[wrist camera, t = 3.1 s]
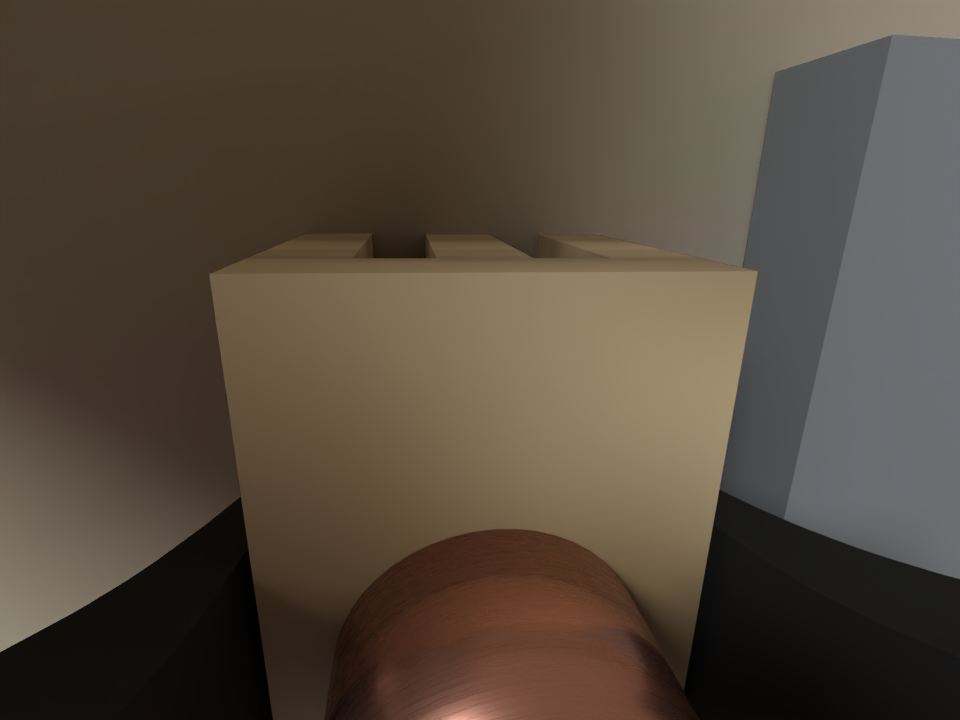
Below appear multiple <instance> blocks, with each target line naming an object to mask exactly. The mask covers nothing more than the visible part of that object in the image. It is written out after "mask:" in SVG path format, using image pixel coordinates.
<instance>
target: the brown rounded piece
mask: <svg viewBox="0 0 960 720" xmlns="http://www.w3.org/2000/svg"><path fill="white" fill-rule="evenodd" d="M324 720H700V719H699V717H698V715H697V714H696V712H695V710H694V708H693V706H692V705H691V703H690V701H689V699H688V698H687V696H686V694H685V692H684V690H683V689H682V687H681V685H680V683H679V681H678V680H677V678H676V676H675V674H674V672H673V671H672V669H671V667H670V665H669V664H668V662H667V660H666V658H665V656H664V655H663V653H662V651H661V649H660V647H659V646H658V644H657V642H656V640H655V638H654V637H653V635H652V633H651V631H650V630H649V628H648V626H647V624H646V622H645V621H644V619H643V617H642V615H641V613H640V612H639V610H638V608H637V606H636V604H635V603H634V601H633V599H632V597H631V595H630V594H629V592H628V590H627V588H626V587H625V585H624V584H623V582H622V581H621V579H620V578H619V576H618V575H617V574H616V573H615V571H614V570H613V569H612V568H611V567H610V566H609V565H608V564H607V563H606V562H605V561H603V560H602V559H601V558H599V557H598V556H597V555H595V554H594V553H593V552H591V551H590V550H588V549H586V548H584V547H582V546H581V545H579V544H577V543H575V542H572V541H570V540H567V539H564V538H562V537H559V536H556V535H552V534H548V533H543V532H539V531H532V530H522V529H492V530H484V531H476V532H470V533H466V534H462V535H458V536H453V537H450V538H447V539H444V540H442V541H439V542H436V543H433V544H430V545H428V546H426V547H424V548H422V549H420V550H418V551H416V552H414V553H412V554H410V555H408V556H407V557H405V558H404V559H402V560H401V561H399V562H397V563H396V564H394V565H393V566H391V567H390V568H389V569H388V570H387V571H385V572H384V573H383V574H382V575H380V576H379V577H378V578H377V579H376V580H375V581H374V582H373V583H372V584H371V585H370V586H369V587H368V588H367V589H366V590H365V591H364V592H363V593H362V595H361V596H360V597H359V599H358V600H357V601H356V603H355V604H354V606H353V607H352V608H351V610H350V612H349V613H348V615H347V617H346V619H345V621H344V623H343V625H342V627H341V630H340V633H339V636H338V639H337V642H336V646H335V652H334V658H333V664H332V670H331V677H330V683H329V690H328V696H327V703H326V709H325V715H324Z"/></svg>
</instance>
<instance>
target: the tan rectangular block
mask: <svg viewBox="0 0 960 720" xmlns="http://www.w3.org/2000/svg"><path fill="white" fill-rule="evenodd" d="M757 273H758V271H754V270H750V269H746V268H741V267H737V266H732V265H728V264H724V263H719V262H715V261H710V260H706V259H702V258H697V257H693V256H688V255H684V254H680V253H675V252H671V251H666V250H662V249H658V248H653V247H649V246H644V245H640V244H636V243H631V242H627V241H622V240H618V239H614V238H609V237H605V236H601V235H539V240H538V258H532V257H530V256H528V255H526V254H525V253H523V252H521V251H519V250H517V249H515V248H513V247H511V246H509V245H507V244H506V243H504V242H502V241H500V240H498V239H496V238H494V237H492V236H490V235H488V234H426V258H373V245H372V234H313V233H306V234H303V235H301V236H298V237H296V238H294V239H291V240H289V241H287V242H284V243H282V244H279V245H277V246H275V247H272V248H270V249H267V250H265V251H263V252H260V253H258V254H256V255H253V256H251V257H248V258H246V259H244V260H241V261H239V262H236V263H234V264H232V265H229V266H227V267H225V268H222V269H220V270H217V271H215V272H213V273H210V274H209V277H210V284H211V291H212V298H213V305H214V312H215V319H216V326H217V332H218V339H219V346H220V353H221V360H222V367H223V374H224V381H225V388H226V395H227V402H228V409H229V416H230V423H231V430H232V437H233V444H234V451H235V458H236V465H237V472H238V479H239V486H240V493H241V500H242V507H243V514H244V521H245V528H246V535H247V542H248V549H249V556H250V563H251V570H252V577H253V584H254V591H255V598H256V605H257V612H258V619H259V626H260V633H261V640H262V647H263V654H264V660H265V667H266V674H267V681H268V688H269V695H270V702H271V709H272V716H273V720H324V715H325V709H326V703H327V696H328V690H329V683H330V677H331V670H332V664H333V658H334V652H335V646H336V642H337V639H338V636H339V633H340V630H341V627H342V625H343V623H344V621H345V619H346V617H347V615H348V613H349V612H350V610H351V608H352V607H353V606H354V604H355V603H356V601H357V600H358V599H359V597H360V596H361V595H362V593H363V592H364V591H365V590H366V589H367V588H368V587H369V586H370V585H371V584H372V583H373V582H374V581H375V580H376V579H377V578H378V577H379V576H380V575H382V574H383V573H384V572H385V571H387V570H388V569H389V568H390V567H391V566H393V565H394V564H396V563H397V562H399V561H401V560H402V559H404V558H405V557H407V556H408V555H410V554H412V553H414V552H416V551H418V550H420V549H422V548H424V547H426V546H428V545H430V544H433V543H436V542H439V541H442V540H444V539H447V538H450V537H453V536H458V535H462V534H466V533H470V532H476V531H484V530H492V529H522V530H532V531H539V532H543V533H548V534H552V535H556V536H559V537H562V538H564V539H567V540H570V541H572V542H575V543H577V544H579V545H581V546H582V547H584V548H586V549H588V550H590V551H591V552H593V553H594V554H595V555H597V556H598V557H599V558H601V559H602V560H603V561H605V562H606V563H607V564H608V565H609V566H610V567H611V568H612V569H613V570H614V571H615V573H616V574H617V575H618V576H619V578H620V579H621V581H622V582H623V584H624V585H625V587H626V588H627V590H628V592H629V594H630V595H631V597H632V599H633V601H634V603H635V604H636V606H637V608H638V610H639V612H640V613H641V615H642V617H643V619H644V621H645V622H646V624H647V626H648V628H649V630H650V631H651V633H652V635H653V637H654V638H655V640H656V642H657V644H658V646H659V647H660V649H661V651H662V653H663V655H664V656H665V658H666V660H667V662H668V664H669V665H670V667H671V669H672V671H673V672H674V674H675V676H676V678H677V680H678V681H679V683H680V685H681V687H682V689H683V690H684V687H685V681H686V676H687V670H688V664H689V659H690V653H691V647H692V642H693V636H694V630H695V625H696V619H697V613H698V608H699V602H700V596H701V591H702V585H703V579H704V574H705V568H706V562H707V557H708V551H709V545H710V540H711V534H712V528H713V523H714V517H715V511H716V506H717V500H718V494H719V489H720V483H721V477H722V472H723V466H724V460H725V455H726V449H727V443H728V438H729V432H730V426H731V421H732V415H733V409H734V404H735V398H736V392H737V387H738V381H739V375H740V370H741V364H742V358H743V353H744V347H745V341H746V336H747V330H748V324H749V319H750V313H751V307H752V302H753V296H754V290H755V285H756V279H757Z"/></svg>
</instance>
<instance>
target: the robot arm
mask: <svg viewBox="0 0 960 720" xmlns="http://www.w3.org/2000/svg"><path fill="white" fill-rule="evenodd" d="M684 692H685V694H686V696H687V698H688V699H689V701H690V703H691V705H692V706H693V708H694V710H695V712H696V714H697V715H698V717H699V719H700V720H960V579H957V578H954V577H950V576H946V575H943V574H939V573H936V572H932V571H929V570H926V569H922V568H919V567H916V566H913V565H909V564H906V563H903V562H900V561H896V560H893V559H890V558H887V557H883V556H880V555H877V554H874V553H871V552H868V551H865V550H862V549H859V548H856V547H854V546H851V545H848V544H846V543H843V542H840V541H838V540H835V539H832V538H830V537H827V536H824V535H822V534H819V533H816V532H813V531H811V530H808V529H806V528H803V527H801V526H798V525H796V524H793V523H791V522H789V521H786V520H784V519H782V518H780V517H777V516H775V515H773V514H771V513H768V512H766V511H764V510H762V509H759V508H757V507H755V506H753V505H750V504H748V503H746V502H744V501H742V500H740V499H738V498H736V497H734V496H732V495H729V494H727V493H725V492H723V491H721V490H719V494H718V500H717V506H716V511H715V517H714V523H713V528H712V534H711V540H710V545H709V551H708V557H707V562H706V568H705V574H704V579H703V585H702V591H701V596H700V602H699V608H698V613H697V619H696V625H695V630H694V636H693V642H692V647H691V653H690V659H689V664H688V670H687V676H686V681H685V687H684ZM0 720H273V716H272V709H271V702H270V695H269V688H268V681H267V674H266V667H265V660H264V654H263V647H262V640H261V633H260V626H259V619H258V612H257V605H256V598H255V591H254V584H253V577H252V570H251V563H250V556H249V549H248V542H247V535H246V528H245V521H244V514H243V507H242V500H241V497H240V498H239V499H237V500H236V501H235V502H234V503H232V504H231V505H230V506H229V507H227V508H226V509H225V510H224V511H222V512H221V513H220V514H219V515H217V516H216V517H215V518H214V519H212V520H211V521H210V522H209V523H207V524H206V525H205V526H204V527H202V528H201V529H199V530H198V531H197V532H195V533H194V534H193V535H191V536H190V537H189V538H187V539H186V540H184V541H183V542H182V543H180V544H179V545H178V546H176V547H175V548H173V549H172V550H171V551H169V552H168V553H167V554H165V555H164V556H163V557H161V558H160V559H158V560H157V561H156V562H154V563H153V564H151V565H150V566H148V567H147V568H145V569H144V570H142V571H141V572H139V573H138V574H136V575H135V576H133V577H132V578H130V579H129V580H127V581H125V582H124V583H122V584H121V585H119V586H117V587H116V588H114V589H113V590H111V591H109V592H108V593H106V594H104V595H103V596H101V597H99V598H98V599H96V600H95V601H93V602H91V603H90V604H88V605H86V606H85V607H83V608H81V609H79V610H78V611H76V612H74V613H72V614H71V615H69V616H67V617H65V618H63V619H61V620H59V621H58V622H56V623H54V624H52V625H50V626H48V627H46V628H45V629H43V630H41V631H39V632H37V633H35V634H33V635H32V636H30V637H28V638H26V639H24V640H22V641H20V642H19V643H17V644H15V645H13V646H11V647H9V648H7V649H5V650H4V651H2V652H0Z"/></svg>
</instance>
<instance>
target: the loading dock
mask: <svg viewBox="0 0 960 720" xmlns="http://www.w3.org/2000/svg"><path fill="white" fill-rule="evenodd" d="M743 268H746V269H750V270H754V271H758V273H757V279H756V285H755V290H754V296H753V302H752V307H751V313H750V319H749V324H748V330H747V336H746V341H745V347H744V353H743V358H742V364H741V370H740V375H739V381H738V387H737V392H736V398H735V404H734V409H733V415H732V421H731V426H730V432H729V438H728V443H727V449H726V455H725V460H724V466H723V472H722V477H721V483H720V489H719V490H721V491H723V492H725V493H727V494H729V495H732V496H734V497H736V498H738V499H740V500H742V501H744V502H746V503H748V504H750V505H753V506H755V507H757V508H759V509H762V510H764V511H766V512H768V513H771V514H773V515H775V516H777V517H780V518H782V519H784V520H786V521H789V522H791V523H793V524H796V525H798V526H801V527H803V528H806V529H808V530H811V531H813V532H816V533H819V534H822V535H824V536H827V537H830V538H832V539H835V540H838V541H840V542H843V543H846V544H848V545H851V546H854V547H856V548H859V549H862V550H865V551H868V552H871V553H874V554H877V555H880V556H883V557H887V558H890V559H893V560H896V561H900V562H903V563H906V564H909V565H913V566H916V567H919V568H922V569H926V570H929V571H932V572H936V573H939V574H943V575H946V576H950V577H954V578H957V579H960V39H950V38H934V37H918V36H902V35H891V36H888V37H884V38H881V39H878V40H875V41H872V42H869V43H866V44H863V45H860V46H856V47H853V48H850V49H847V50H844V51H841V52H838V53H835V54H832V55H828V56H825V57H822V58H819V59H816V60H813V61H810V62H807V63H804V64H800V65H797V66H794V67H791V68H788V69H785V70H782V71H779V72H776V74H775V80H774V86H773V92H772V98H771V104H770V110H769V116H768V122H767V128H766V134H765V140H764V146H763V152H762V158H761V164H760V170H759V176H758V181H757V187H756V193H755V199H754V205H753V211H752V217H751V223H750V229H749V235H748V241H747V247H746V253H745V259H744V265H743Z"/></svg>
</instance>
